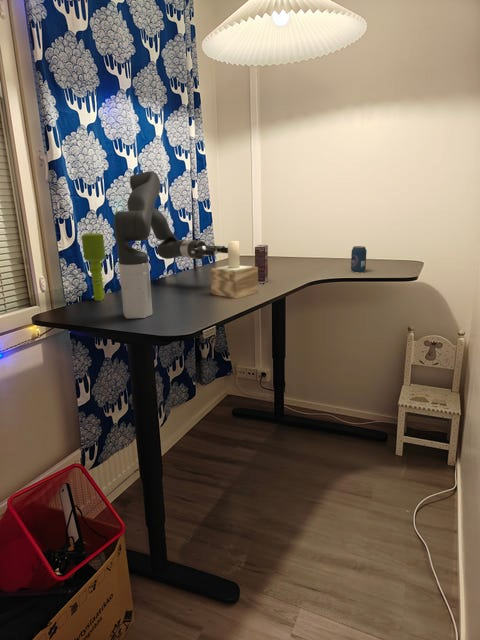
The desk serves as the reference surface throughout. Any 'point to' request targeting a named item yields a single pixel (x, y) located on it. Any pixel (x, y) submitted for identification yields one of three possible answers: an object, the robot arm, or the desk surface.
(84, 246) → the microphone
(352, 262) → the soda can
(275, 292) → the desk surface
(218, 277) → the box
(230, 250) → the lid
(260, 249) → the supplement box
